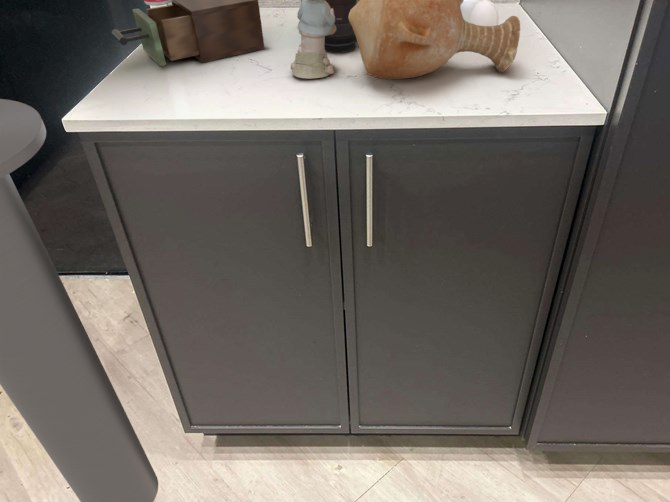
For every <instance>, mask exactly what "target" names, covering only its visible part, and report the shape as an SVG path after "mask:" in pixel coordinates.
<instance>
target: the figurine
mask: <svg viewBox="0 0 670 502" xmlns="http://www.w3.org/2000/svg"><path fill="white" fill-rule="evenodd" d="M296 14H297V15H296V17H297V19H298V20H299V21H298V23H297V29H298V33H299V35H300V44H299V45H298V49H297V52H296V53H295V57H294V61H293V62H292V63H290V71H291V74H292V75H293V76H295V77H296V78H299V79H310V80H311V79H319V78H320V79H321V78H325V77H328V76H330V75H332V74H334V71H335V70H334V66H333V64H331V63H330V59H329V57H328V53H327V51H326V50H325V47H324V44H325V36H327V35H332V34H334V33H335V31H336V26H335V24H334V23H335V16H334V10H333V9H332V8H330V6H329V4H328V3H327V2H326V1H325V0H302V3H301V2H300V6H299V8H298V10H297V13H296Z"/></svg>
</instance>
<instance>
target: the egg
mask: <svg viewBox="0 0 670 502" xmlns="http://www.w3.org/2000/svg"><path fill="white" fill-rule="evenodd" d="M499 19H500V18H499V12H498V8H497V6H496V5H495V4H494V3H493V1H491V0H483V1H481V2H479V3H478V4H476V6H475V7H474V8H473V10H472V12H471V14H470V18H469V23H472V24H475V25H479V26H496V25H499V21H500V20H499Z"/></svg>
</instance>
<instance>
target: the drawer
mask: <svg viewBox="0 0 670 502" xmlns="http://www.w3.org/2000/svg"><path fill="white" fill-rule="evenodd" d="M132 13H133V16H134V20H135V24H136V27H134V28H128V29H123V30H119V29H116V28H113V29H112V30H111V35H112V36H113V37H114V39H115V40H117V42H118V43H119V44H120V45H122V46H126V45H127V44H128V43H129V42H135V41H139V40H140V43H141V47H142V50H143V51H144V52H145V53H146V54H147V55H148V56H149V57H150V58H151V59H153V61H154V62H155V63H157V64H158V66H160V67H163V66H166V65H167V62H166V57H167V59H169V60H170V61H177V60H181V59H186V58H191V57H195V56H196V55H199V50H198V46H197V41H196V36H195V31H194V27H193V22H192V17H191V14H189V13H188V12H186V11H185V10H183V9H182V8H181V7H179V6H178V5H176V4H172V3H171V4H166V5H160V6H154V7H150V8H146V13H147V14H146V13H145V12H144V11H142V10H141V9H140V8H133V9H132ZM134 33H138V35H134V36H129V37H126V36H125V35H127V34H128V35H129V34H134ZM165 56H166V57H165Z"/></svg>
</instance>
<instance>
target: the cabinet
mask: <svg viewBox="0 0 670 502" xmlns="http://www.w3.org/2000/svg"><path fill="white" fill-rule="evenodd" d="M172 4H176V5H178V6H179V7H181V8H182V9H183V10H185V11H186V12H188V13H189V14H191V17H192V22H193V27H194V31H195V36H196V41H197V46H198V50H199V55H196V56H194V58H195V59H197V60H198V61H199V62H201V64H203V63H208V62H213V61H217V60H222V59H225V58H226V59H227V58H230V57H235V56H239V55H244V54H248V53H253V52H259V51H262V50H265V49H266V48H265V42H264V33H263V26H262V19H261V11H260V4H259V0H173V1H172V2H171V5H172Z"/></svg>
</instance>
